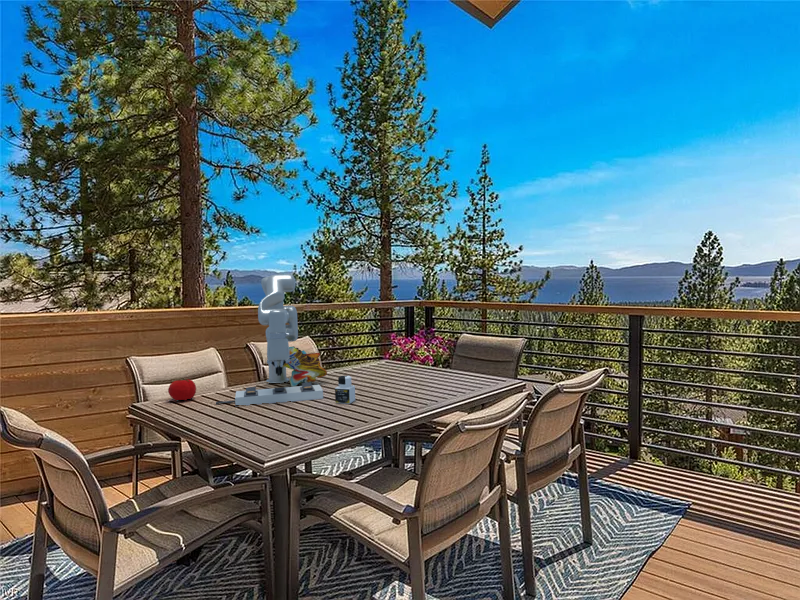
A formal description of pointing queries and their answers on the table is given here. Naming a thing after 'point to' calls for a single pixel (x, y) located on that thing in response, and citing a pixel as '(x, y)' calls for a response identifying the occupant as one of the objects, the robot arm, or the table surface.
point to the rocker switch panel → (277, 395)
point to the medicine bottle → (344, 390)
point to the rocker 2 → (307, 386)
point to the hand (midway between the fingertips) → (279, 375)
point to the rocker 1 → (250, 390)
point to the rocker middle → (279, 389)
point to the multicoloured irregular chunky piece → (304, 366)
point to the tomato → (182, 389)
